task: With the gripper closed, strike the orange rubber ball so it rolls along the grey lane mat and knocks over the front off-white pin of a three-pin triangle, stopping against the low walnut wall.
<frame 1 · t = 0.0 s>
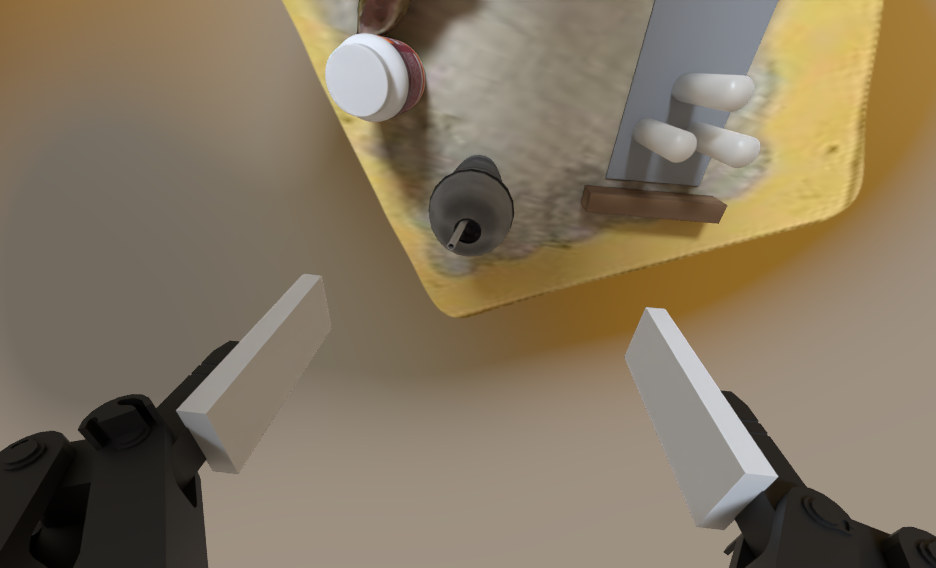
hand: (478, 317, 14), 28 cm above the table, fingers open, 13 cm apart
lane mat: (705, 29, 31), on the table
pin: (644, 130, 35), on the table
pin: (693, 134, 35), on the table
beverage cup: (478, 175, 39), on the table
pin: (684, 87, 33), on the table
pill bottle: (396, 77, 35), on the table
back wall: (645, 199, 39), on the table
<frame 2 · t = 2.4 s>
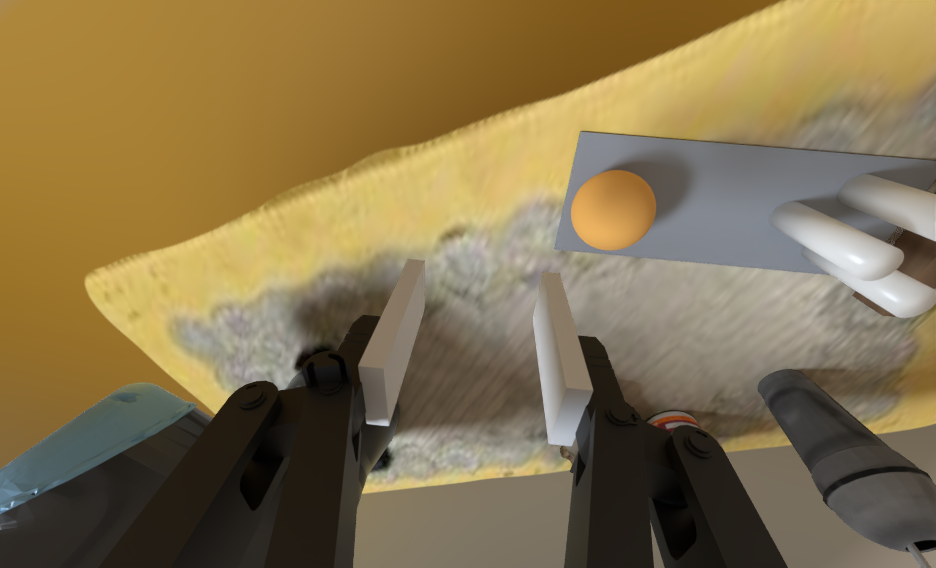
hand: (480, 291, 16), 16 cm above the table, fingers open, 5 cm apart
lane mat: (729, 209, 29), on the table
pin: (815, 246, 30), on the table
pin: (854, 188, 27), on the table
ball: (611, 211, 27), on the table
beverage cup: (779, 382, 39), on the table
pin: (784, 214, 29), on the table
pill bottle: (668, 423, 44), on the table
back wall: (922, 226, 28), on the table
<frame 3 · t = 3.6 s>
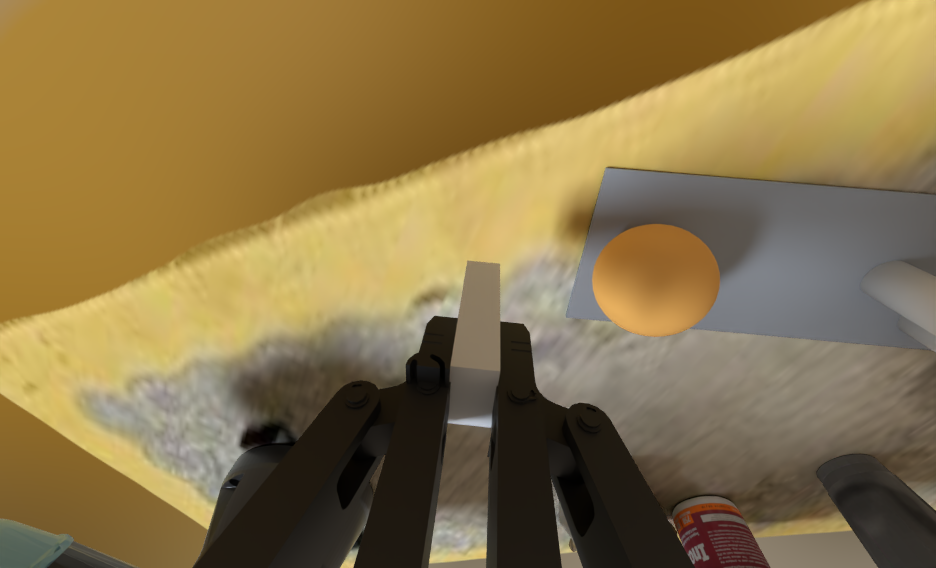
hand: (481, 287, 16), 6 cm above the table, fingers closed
lane mat: (806, 270, 21), on the table
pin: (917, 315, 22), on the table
ball: (651, 280, 19), on the table
beverage cup: (844, 466, 31), on the table
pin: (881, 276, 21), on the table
pill bottle: (700, 507, 36), on the table
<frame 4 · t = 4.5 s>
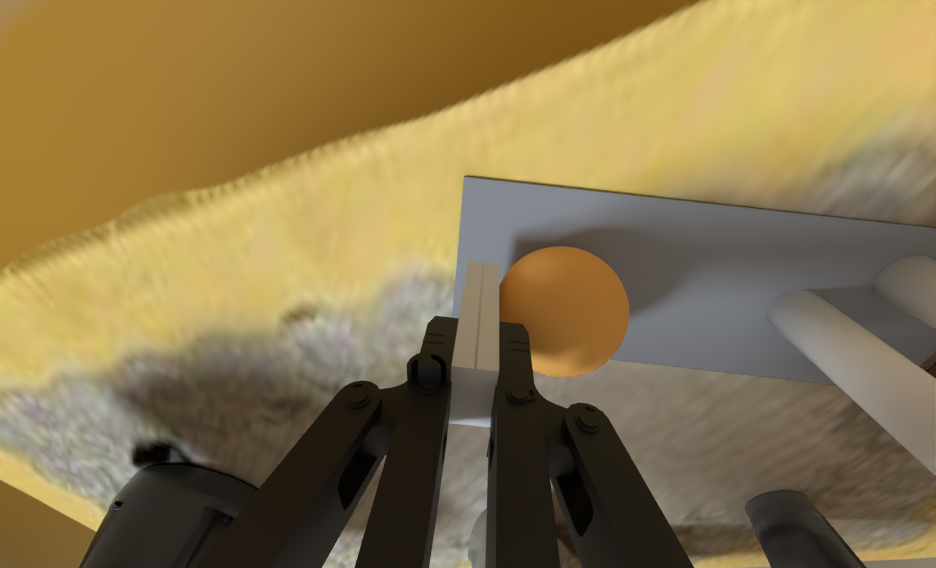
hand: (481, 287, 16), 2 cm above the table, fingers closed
lane mat: (705, 297, 19), on the table
ceramic sculpture: (526, 523, 34), on the table
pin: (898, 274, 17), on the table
ball: (558, 310, 16), on the table, touching gripper
beverage cup: (774, 502, 29), on the table
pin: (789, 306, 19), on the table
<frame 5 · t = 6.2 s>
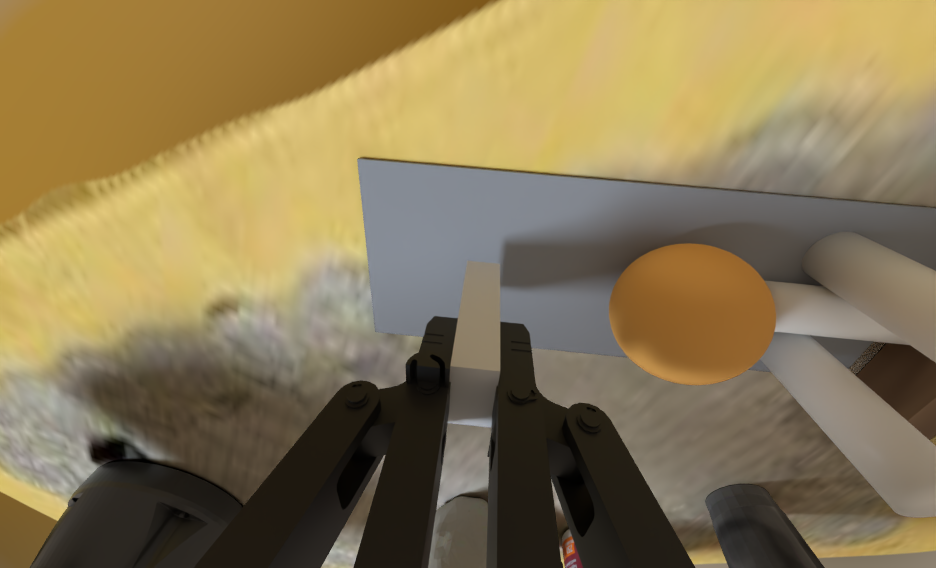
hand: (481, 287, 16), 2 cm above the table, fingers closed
lane mat: (628, 281, 18), on the table
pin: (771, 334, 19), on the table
ceramic sculpture: (487, 519, 33), on the table
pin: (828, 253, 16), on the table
ball: (683, 313, 15), on the table
beverage cup: (735, 496, 28), on the table
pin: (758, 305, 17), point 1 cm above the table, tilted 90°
pill bottle: (593, 533, 33), on the table
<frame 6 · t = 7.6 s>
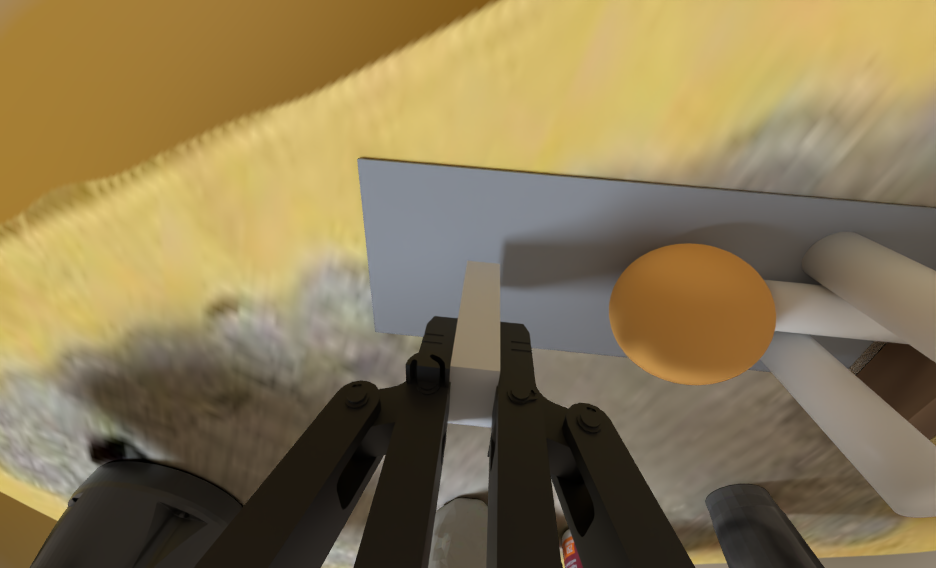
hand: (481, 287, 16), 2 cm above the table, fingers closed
lane mat: (628, 281, 18), on the table
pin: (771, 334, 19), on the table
ceramic sculpture: (486, 520, 34), on the table
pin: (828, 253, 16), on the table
ball: (683, 313, 15), on the table
beverage cup: (735, 496, 28), on the table
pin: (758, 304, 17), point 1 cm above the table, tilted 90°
pill bottle: (593, 533, 33), on the table
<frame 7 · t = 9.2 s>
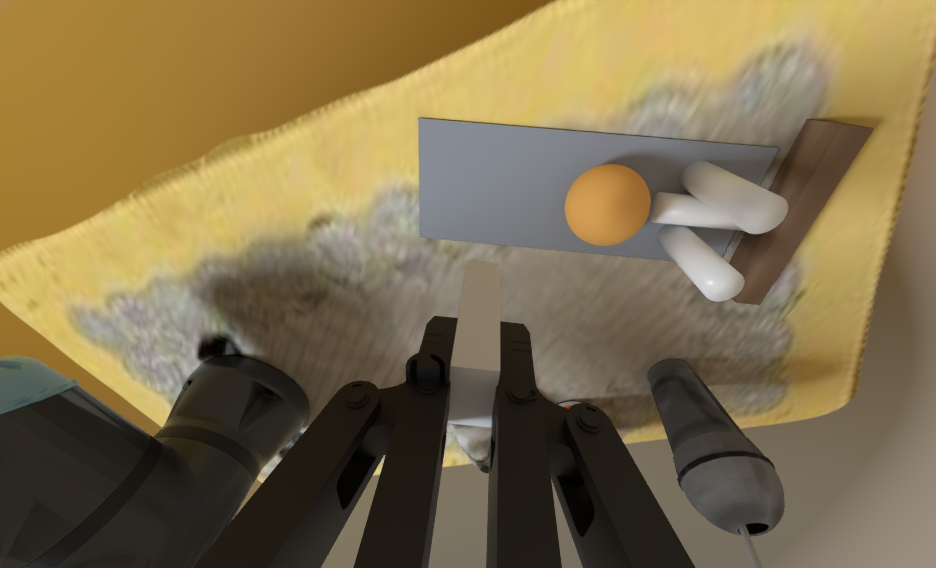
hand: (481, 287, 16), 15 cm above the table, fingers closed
lane mat: (579, 196, 29), on the table
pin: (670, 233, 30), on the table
ceramic sculpture: (490, 407, 45), on the table
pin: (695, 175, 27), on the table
ball: (605, 206, 26), on the table
beverage cup: (668, 372, 39), on the table
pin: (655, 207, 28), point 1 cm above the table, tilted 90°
back wall: (768, 213, 28), on the table
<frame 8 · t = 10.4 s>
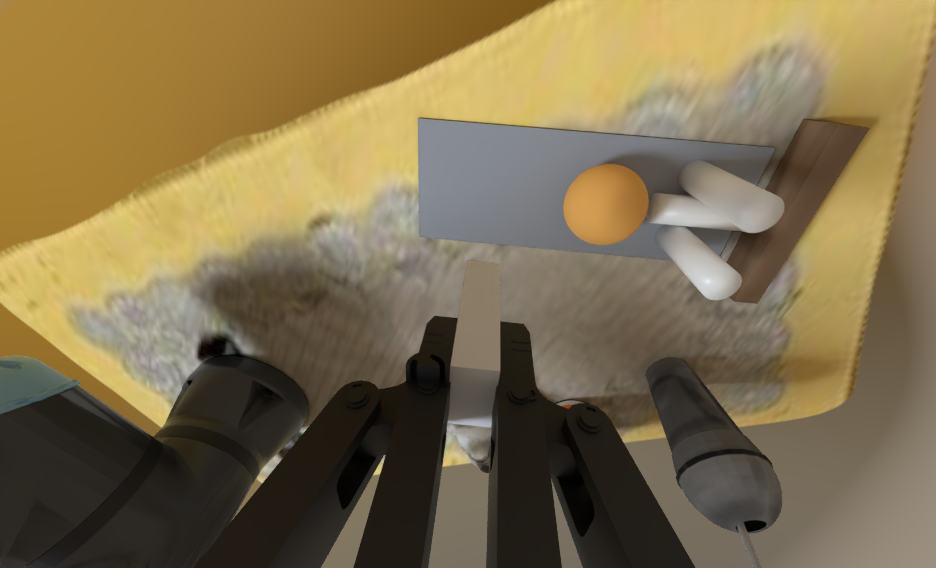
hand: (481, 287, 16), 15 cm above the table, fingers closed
lane mat: (578, 196, 29), on the table
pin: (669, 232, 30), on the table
ceramic sculpture: (490, 407, 45), on the table
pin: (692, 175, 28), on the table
ball: (604, 205, 26), on the table
beverage cup: (666, 371, 39), on the table
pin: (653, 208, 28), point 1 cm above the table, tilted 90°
back wall: (766, 212, 29), on the table
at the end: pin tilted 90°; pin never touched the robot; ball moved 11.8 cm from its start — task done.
